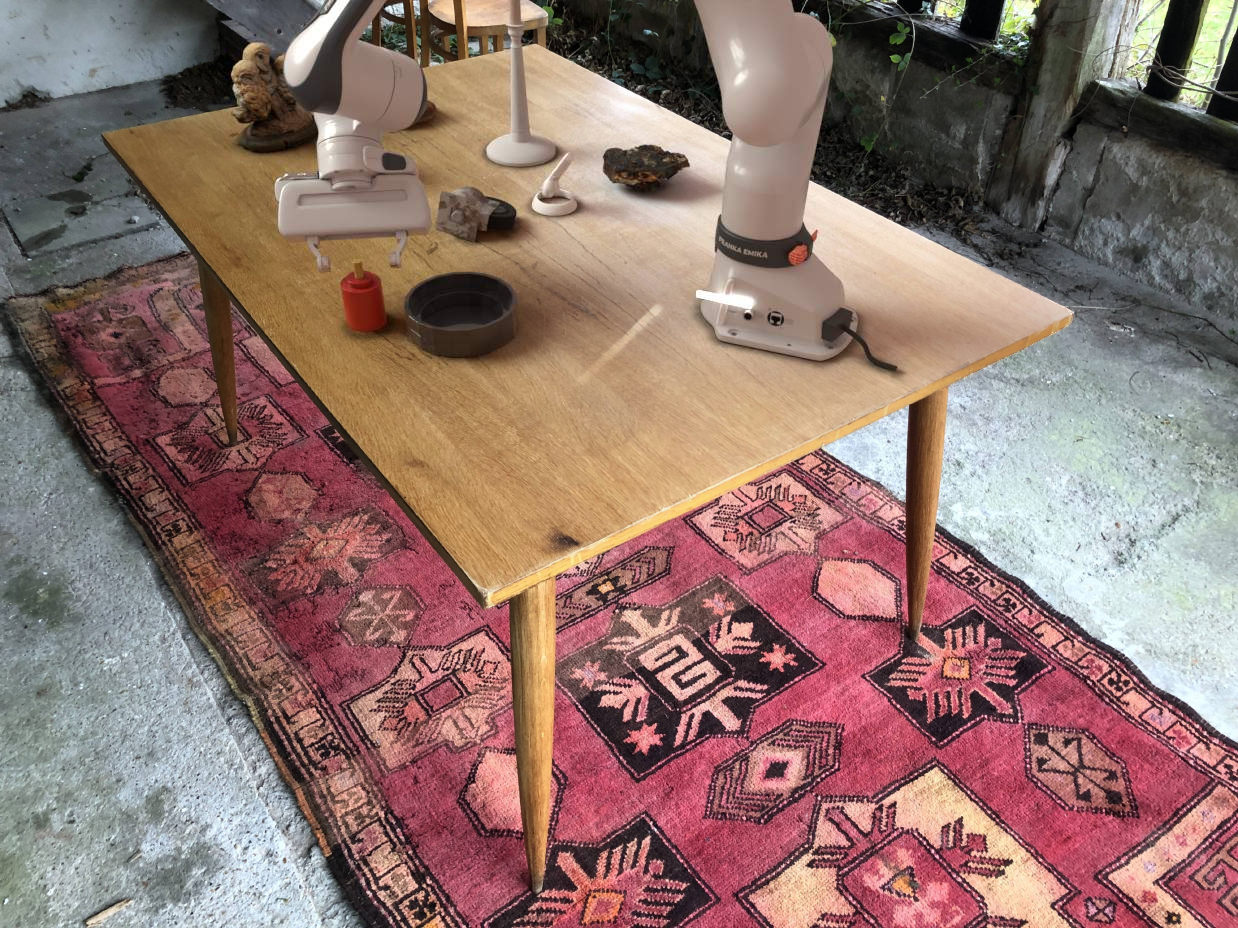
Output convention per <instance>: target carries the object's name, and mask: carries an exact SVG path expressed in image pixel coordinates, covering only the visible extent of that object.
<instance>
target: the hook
mask: <svg viewBox="0 0 1238 928" xmlns="http://www.w3.org/2000/svg"><path fill="white" fill-rule="evenodd" d="M574 160H575V159H574V155H573V154H572V153H571V152H566V153H565V154H564V156H563V157H562V158H561V160H560V161H559V162H558V163H557V165H556V166H555V167H554V169H553V170H552V171H551V172H550V174H549V175H548V177H546V179H545V180H544V181H543V183H542V185H540V188H539V191H538V192H537V193H536V194H535V196H534V197H533V199H532V203H531V208H532V209H533V211H535V212H536V213H538V214H540V215H543V216H548V217H549V216H550V217H558V216H559V217H560V216H565V215H568V214H571V213H573V212H574V211H575V210H577V208H578V204H577V200H576V198H575V196H574V194H573V193H572V192H570V191H569V190H567V189H564V188H563V189H562V187H561V185H560V182H559V180H560V179H561V177H562V176H563V175H564V174H565V173H566V171H567V170H568V169H569V167H570V166H571V165H572V163H573V161H574ZM552 197H560V198H565V199H568V201H566V202H563V203H557V204H556V203H553V204H551V203H546V202H543V201H541V200H540V199H543V198H549V199H550V198H552Z"/></svg>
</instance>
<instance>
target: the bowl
mask: <svg viewBox="0 0 1238 928" xmlns="http://www.w3.org/2000/svg"><path fill="white" fill-rule="evenodd" d="M403 311H404V318H405V325H406V333H407V334H408V337H409V339H410V341H411V342H412V343H413V344H414V345H415V346H417V347H418V348H419V349H420V350H423V351H424V352H426V353H427V352H428V353H430V354H433V355H435V356H441V357H447V358H471V357H478V356H482V355H486V354H490V353H492V352H494V351H496V350H499V349H501V348H503V347H504V346H506V345H507V344H508V343H510V342H511V340H513V339H514V337H515V335H516V334H517V332H518V330H519V312H518V295H517V292H516V291H515V289H514V288H513V286H512V285H511V284H510V283H509V282H507V281H506V280H504V279H502V278H500V277H498V276H495V275H492V274H488V273H486V272H485V273H484V272H476V271H451V272H446V273H441V274H437V275H434V276H431V277H429V278H426V279H424V280H422V281H420V282H419V283H417V284H416V285H414V286H413V287H412V288H410V290H409V291H408V292H407V294H406V295H405V297H404V303H403Z"/></svg>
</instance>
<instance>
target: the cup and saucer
mask: <svg viewBox="0 0 1238 928" xmlns="http://www.w3.org/2000/svg"><path fill="white" fill-rule="evenodd" d="M436 111H437V106H436V104H435V103H434V102H432V101H430V100H428V99H427V105H426V109H425V112H424V114H423V115H422V116H421V118H420V119H419V120H418V121H417V122H416V123H414V124H413V125H415V124H420V123H423V122H426V121H428V120H429V119H431V118H432V117H433V116H434V115H435V114H436Z"/></svg>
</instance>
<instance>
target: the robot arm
mask: <svg viewBox="0 0 1238 928" xmlns="http://www.w3.org/2000/svg"><path fill="white" fill-rule="evenodd" d="M386 2H387V0H324V2H323V3H322V4H321V6H320V7H319V9H318V10H317V12H316V13H315V14H314V16H312V18H311V19H310V20H309V21H308V22H307V23H306V24H305V25H304V26H303V27H302V28H301V29H300V30H299V31H297V33H296V34H295V35H294V36H293V38H292V39H291V41H290V42H289V43H288V45H287V47H286V50H285V52H284V54H285V56H284V60H283V76H284V80H285V82H286V84H287V87H288V89H289V90H290V92H291V94H292V95H293V97H294V98H295V100H296V101H297V102H298V103H299V105H300V106H301V107H302V108H303V109H304V110H306V111H310V112H311V113H313V115H314V118H315V122H316V124H317V127H318V132H319V134H318V135H317V140H316V155H317V156H316V157H317V166H318V167H317V168H318V170H315V171H305V172H285V174H284V176H281V177H278V179H277V180H276V181H275V183H274V187H273V188H274V198H275V201H276V202H277V204H278V211H277V213H278V214H277V225H278V227H277V228H278V231H279V234H280V235H281V236H282V238H283V239H284V240H286V242H288V243H289V244H291V243H292V244H295V243H306V244H307V246H308V248H309V250H310V251H311V253H313V255H314V257H315V258H316V260H317V270H318V272H319V273H320V274H323V273H331V272H332V267H331V265H332V264H331V259H330V257H329V256H322V254H321V253H320V251H319V250H320V249H321V248H322V247H321V246H322V245H321V242H328V241H329V242H330V241H345V240H347V241H348V240H364V239H379V238H380V239H382V238H395V240H396V242H397V243H396V244H398V245H397V247H396V249H395V251H393V252H388V258H389V267H390V269H402V266H403V265H402V256H403V254H404V252H405V250H406V248H407V246H408V244H409V242H408V241H409V240H408V237H417V236H428V235H429V234H430V233H431V231H432V229H433V222H432V221H433V220H432V214H431V209H430V203H429V201H428V196H427V192H426V189H425V186H424V184H423V182H422V181H421V179H420V177H419V169H418V165H417V163H416V161H415V159H414V158H413V157H412V156H410V155H406V154H402V153H398V152H394V151H391V150H387V149H384V145H383V137H384V136H385V135H386V134H396V133H399V132H401V131H404V130H407V129H409V128H410V127H412V126H413V125H415V124H414V123H416V122H417V121H418V120H419V119H420V118H421V116H422V115H423V114H424V112H425V109H426V105H427V100H428V83H427V78H426V75H425V72H424V70H423V68H422V66H421V64H420V63H419V62H418V61H417V60H416V59H414V58H412V57H410V56H408V55H405V54H403V53H399V52H397V51H394V50H392V49H388V48H385V47H383V46H378V45H375V44H372V43H369V42H366V41H363V40H360V39H361V37H362V36H363V34H364V33H365V31H366V30H367V28H368V27H369V26H370V25H371V23H372V22H373V21H374V19H375V17H377V15H378V13H379V11H380V10H381V9H382V8H383V7H384V5H385V3H386ZM693 2H694V6H695V8H696V10H697V13H698V16H699V19H700V22H701V25H702V28H703V29H702V30H703V32H704V36H705V40H706V43H707V47H708V52H709V55H710V58H711V62H712V66H713V69H714V72H715V75H716V78H717V82H718V87H719V91H720V95H721V103H722V104H721V105H722V114H723V118H724V122H725V124H726V126H727V127H728V129H729V131H730V132H731V133H732V137H731V142H730V147H729V150H728V155H727V158H726V164H725V172H724V183H723V193H722V204H721V212H720V214H719V215H718V217H717V222H716V227H715V232H714V233H715V234H714V253H715V258H714V262H713V267H712V271H711V274H710V279H709V282H708V285H707V288H706V291H703V290H699V289H697V290H696V296H695V297H696V298H699V299H702V300H701V302H700V311H701V314H702V316H703V318H704V319H705V320H706V321H707V322H708V323H709V324H710V325H711V326H712V328H713V330H714V334H715V337H716V338H717V340H719V341H721V342H724V343H728V344H733V345H739V346H743V347H749V348H754V349H758V350H762V351H763V350H764V351H766V352H767V351H769V352H771V353H778V354H782V355H787V356H793V357H797V358H802V359H807V360H811V361H818V362H823V361H825V360H826V361H827V360H829V359H832V358H833V357H836V356H837V355H839V354H840V353H842V352H843V351H844V350H845V349H846V348H847V347H848V346H849V345H850V344H851V342H852V341H853V339H854V340H855V341H856V342H858V343H859V345H860V346H861V347H862V349H863V352H864V354H865V356H866V358H867V360H869V362H871V363H872V364H874V365H875V366H878V367H880V368H883V369H886V370H891V371H894V372H896V371H897V369H898V366H897V365H895V364H892V363H888V362H885V361H881V360H879V359H877V358H876V357H875V356H873V354H872V353H871V350H870V348H869V345H868V343H867V342H866V341H865V340H864V338H863V337H861V336H860V335H859V334H858V333H857V330H858V323H859V318H858V315H857V312H856V311H855V310H854V309H853V308H850V307H848V306H846V293H845V287H844V284H843V282H842V280H841V279H840V278H839V276H837V275H836V274H835V273H834V272H833V271H832V270H831V269H830V268H828V266H827V265H826V264H825V263H824V262H823V261H822V260H821V259H820V258H819V257H818V256H817V255H816V254H815V253H814V252H813V249H814V242H815V241H816V240H817V238H818V233H819V230H818V229H816V230H815V231H814V232H813V233H812V234H811V233H810V232H809V229H807V227H806V224H805V222H804V216H805V210H806V204H807V198H808V191H809V185H810V179H811V173H812V168H813V163H814V160H815V159H814V158H815V154H816V150H817V146H818V145H817V144H818V140H819V136H820V131H821V125H822V121H823V116H824V111H825V106H826V102H827V96H828V90H829V85H830V80H831V76H832V75H831V74H832V70H833V61H834V53H833V45H832V41H831V38H830V34H829V32H828V30H827V29H826V27H825V25H824V24H823V23H822V22H821V21H820V20H818V19H817V18H815V16H813V15H811V14H808V13H804V12H795V10H794V7H793V2H792V0H693Z"/></svg>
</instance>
